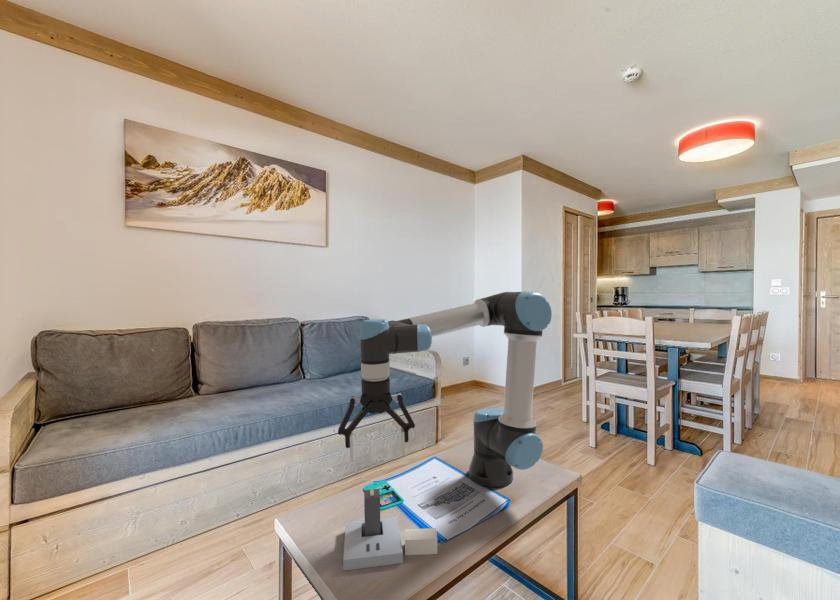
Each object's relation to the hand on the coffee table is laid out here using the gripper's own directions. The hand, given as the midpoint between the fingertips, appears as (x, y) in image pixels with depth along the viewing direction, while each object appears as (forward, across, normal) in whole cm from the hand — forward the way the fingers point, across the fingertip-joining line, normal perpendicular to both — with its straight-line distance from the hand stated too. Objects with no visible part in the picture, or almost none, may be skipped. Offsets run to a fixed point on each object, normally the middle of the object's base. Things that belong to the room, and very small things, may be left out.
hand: (377, 456), depth 97 cm
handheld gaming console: (+22, -2, -18) cm, 28 cm away
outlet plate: (+21, +2, +5) cm, 21 cm away
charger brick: (+21, +2, +2) cm, 21 cm away
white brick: (+21, -10, +8) cm, 25 cm away
